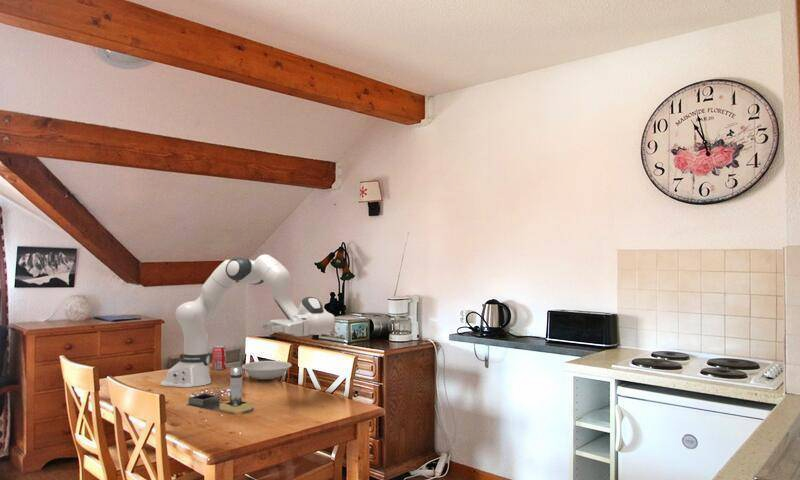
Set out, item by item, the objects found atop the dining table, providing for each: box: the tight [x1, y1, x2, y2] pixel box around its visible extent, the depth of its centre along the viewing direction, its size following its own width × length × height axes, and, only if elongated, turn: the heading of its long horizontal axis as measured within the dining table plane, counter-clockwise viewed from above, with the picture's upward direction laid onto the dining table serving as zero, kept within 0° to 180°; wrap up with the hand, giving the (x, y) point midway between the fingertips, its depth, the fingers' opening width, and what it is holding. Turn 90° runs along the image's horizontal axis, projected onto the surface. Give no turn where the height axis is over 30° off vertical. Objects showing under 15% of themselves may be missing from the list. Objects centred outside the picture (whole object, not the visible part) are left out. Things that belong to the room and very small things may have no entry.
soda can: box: [211, 345, 227, 371], centre depth 302 cm, size 7×7×12 cm
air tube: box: [229, 366, 243, 406], centre depth 220 cm, size 5×5×16 cm
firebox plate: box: [186, 393, 255, 416], centre depth 224 cm, size 26×11×4 cm, turn 60°
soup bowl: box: [241, 360, 293, 380], centre depth 280 cm, size 24×24×7 cm
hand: (267, 327), depth 227 cm, fingers open, 8 cm apart
